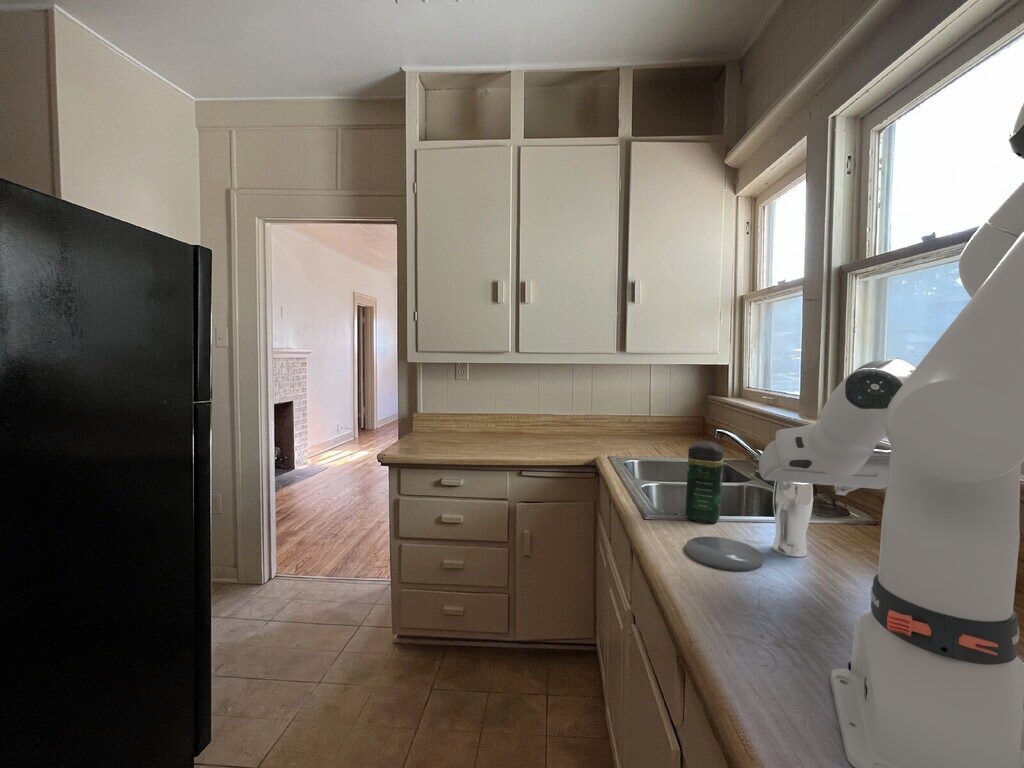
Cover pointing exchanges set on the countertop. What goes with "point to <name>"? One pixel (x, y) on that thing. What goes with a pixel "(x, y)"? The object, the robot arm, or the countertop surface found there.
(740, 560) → the coaster
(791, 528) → the beer glass
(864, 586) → the countertop surface
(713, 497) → the coffee jar
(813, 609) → the countertop surface
